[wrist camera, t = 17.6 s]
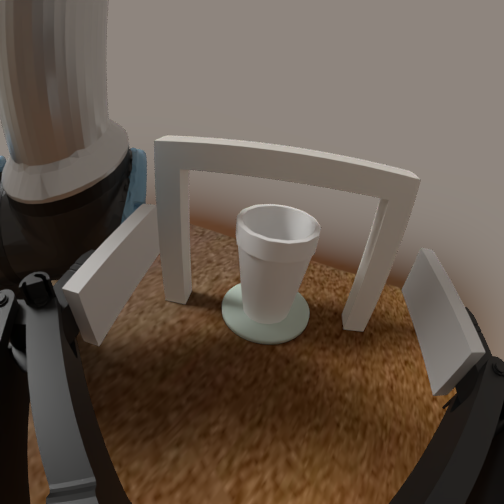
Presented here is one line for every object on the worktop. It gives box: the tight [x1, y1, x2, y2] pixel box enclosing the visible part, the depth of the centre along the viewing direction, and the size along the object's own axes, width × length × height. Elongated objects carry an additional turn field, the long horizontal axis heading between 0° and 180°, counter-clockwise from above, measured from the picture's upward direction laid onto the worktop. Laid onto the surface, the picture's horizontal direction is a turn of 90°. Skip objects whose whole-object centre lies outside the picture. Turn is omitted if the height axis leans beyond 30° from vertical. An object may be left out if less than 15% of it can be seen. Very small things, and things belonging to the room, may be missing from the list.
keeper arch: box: [154, 136, 421, 344], centre depth 34 cm, size 28×12×22 cm, turn 81°
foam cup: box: [236, 204, 321, 324], centre depth 36 cm, size 10×9×13 cm
